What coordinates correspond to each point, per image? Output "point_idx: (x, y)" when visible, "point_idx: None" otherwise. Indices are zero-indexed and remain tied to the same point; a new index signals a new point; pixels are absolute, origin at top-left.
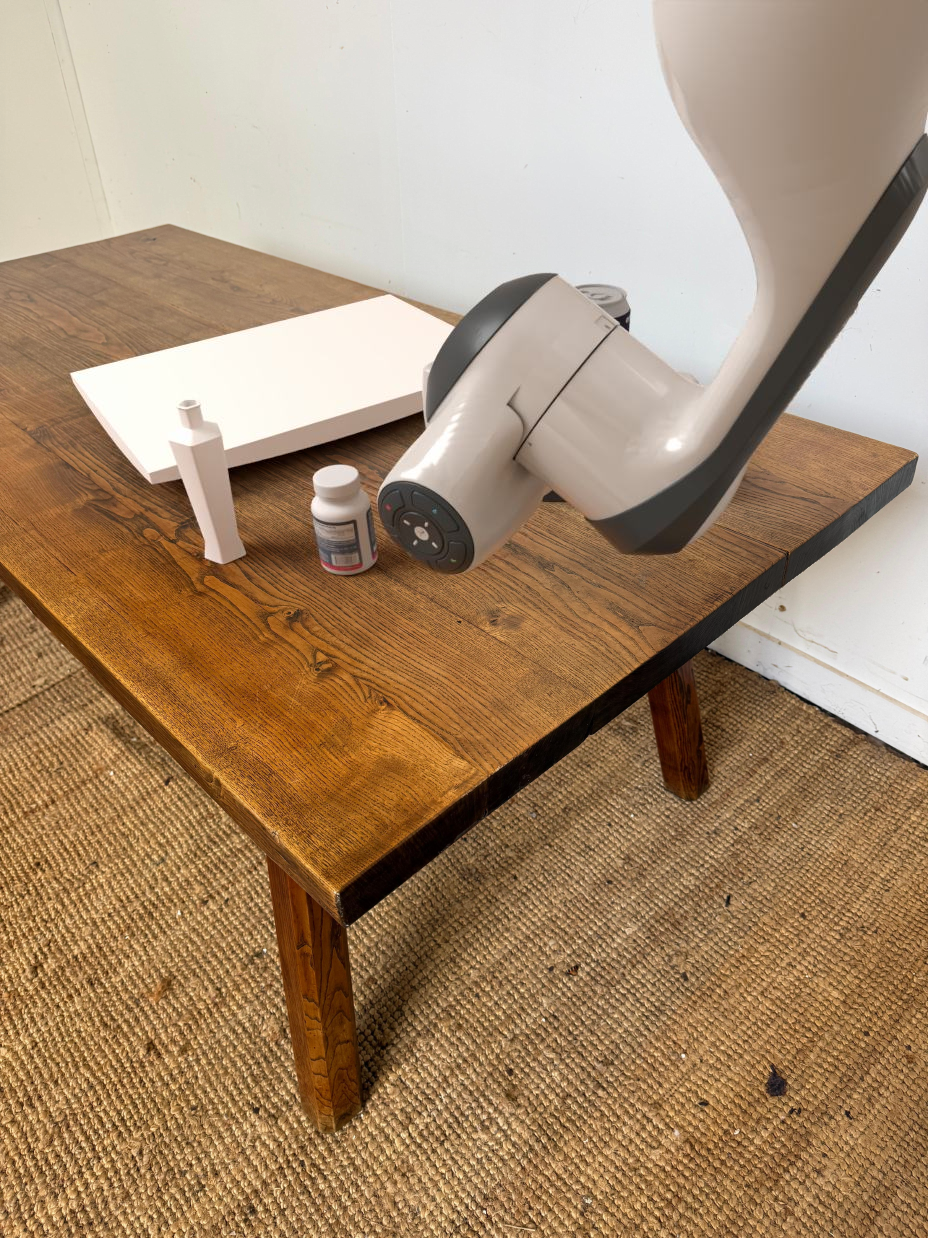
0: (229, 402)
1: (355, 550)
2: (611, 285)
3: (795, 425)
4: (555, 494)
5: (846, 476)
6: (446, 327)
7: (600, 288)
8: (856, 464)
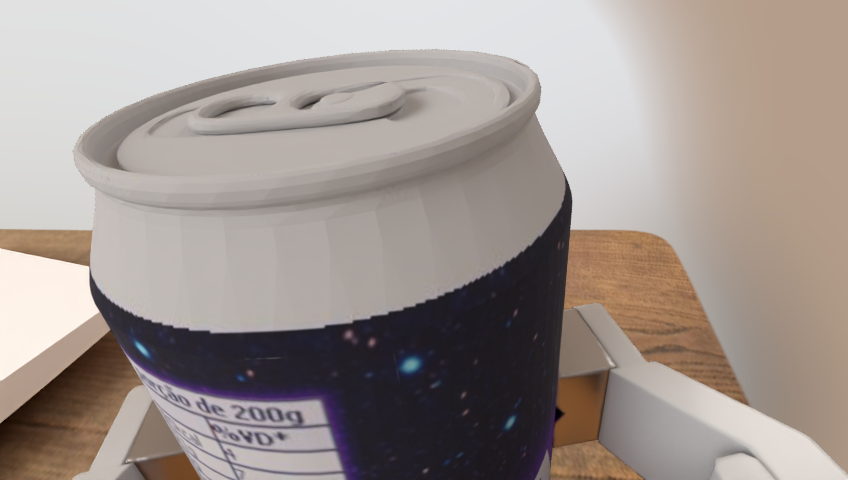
0: None
1: None
2: (361, 54)
3: None
4: None
5: (652, 286)
6: (13, 259)
7: (313, 78)
8: (638, 264)
